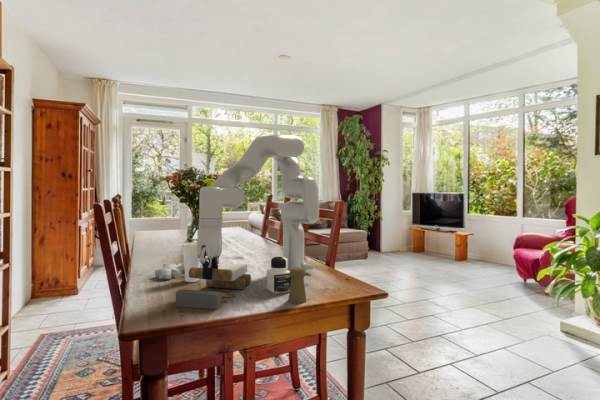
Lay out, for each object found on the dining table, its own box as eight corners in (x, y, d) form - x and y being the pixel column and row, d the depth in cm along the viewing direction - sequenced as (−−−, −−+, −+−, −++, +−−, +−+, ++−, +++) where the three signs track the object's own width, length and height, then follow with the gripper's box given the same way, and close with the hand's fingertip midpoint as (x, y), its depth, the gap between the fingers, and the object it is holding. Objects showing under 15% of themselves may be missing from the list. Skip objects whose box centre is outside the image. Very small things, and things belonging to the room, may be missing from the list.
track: (251, 283, 135) (251, 273, 134) (226, 302, 112) (226, 290, 112) (217, 281, 137) (217, 271, 137) (187, 299, 115) (187, 287, 115)
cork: (287, 297, 117) (288, 265, 117) (305, 297, 118) (305, 265, 117) (288, 303, 111) (289, 270, 111) (307, 303, 112) (307, 269, 111)
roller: (231, 279, 116) (232, 268, 116) (227, 281, 113) (227, 270, 113) (194, 276, 119) (194, 266, 119) (188, 279, 116) (188, 268, 116)
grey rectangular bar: (221, 306, 108) (221, 292, 108) (217, 309, 105) (217, 295, 105) (181, 303, 111) (181, 289, 111) (175, 306, 108) (175, 291, 108)
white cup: (195, 283, 133) (195, 245, 133) (179, 282, 135) (179, 244, 134) (204, 279, 140) (204, 242, 140) (188, 278, 141) (188, 241, 141)
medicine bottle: (274, 294, 121) (274, 260, 121) (266, 288, 128) (266, 256, 127) (292, 291, 124) (292, 258, 124) (283, 286, 131) (284, 255, 130)
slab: (247, 271, 136) (247, 264, 136) (233, 281, 122) (233, 272, 122) (223, 270, 138) (223, 263, 138) (207, 279, 124) (207, 271, 124)
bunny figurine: (151, 271, 137) (161, 259, 151) (152, 283, 137) (162, 270, 152) (176, 271, 138) (184, 259, 152) (176, 283, 138) (184, 270, 153)
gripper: (211, 221, 124) (211, 271, 125) (187, 225, 108) (187, 283, 109) (231, 221, 123) (230, 272, 123) (209, 226, 107) (209, 285, 107)
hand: (210, 277), depth 116 cm, fingers closed on roller, 3 cm apart
